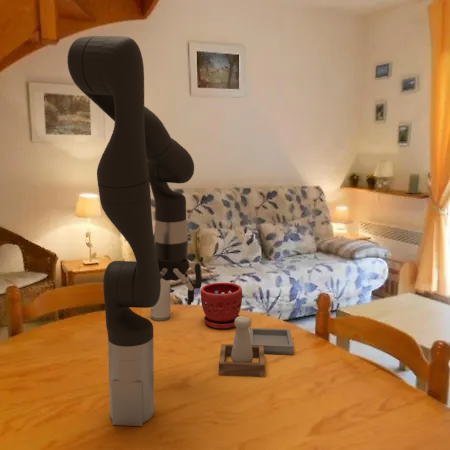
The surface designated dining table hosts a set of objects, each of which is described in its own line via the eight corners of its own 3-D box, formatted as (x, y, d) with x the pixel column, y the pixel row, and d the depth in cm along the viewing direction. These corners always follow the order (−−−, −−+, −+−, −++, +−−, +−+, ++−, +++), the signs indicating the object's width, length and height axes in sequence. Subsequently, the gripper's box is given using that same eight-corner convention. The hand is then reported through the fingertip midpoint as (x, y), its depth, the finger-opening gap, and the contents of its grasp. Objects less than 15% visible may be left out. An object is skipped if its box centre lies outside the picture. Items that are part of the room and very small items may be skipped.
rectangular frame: (264, 376, 118) (264, 365, 117) (218, 374, 118) (218, 363, 118) (263, 355, 129) (263, 345, 128) (221, 354, 129) (221, 344, 129)
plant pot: (233, 314, 159) (234, 279, 157) (247, 329, 147) (248, 292, 145) (195, 318, 155) (196, 283, 153) (207, 333, 143) (207, 295, 141)
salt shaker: (251, 371, 120) (252, 322, 118) (228, 369, 121) (229, 320, 119) (254, 361, 126) (255, 314, 123) (233, 358, 127) (234, 312, 125)
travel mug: (148, 320, 152) (147, 260, 149) (154, 313, 159) (153, 255, 155) (166, 322, 151) (166, 261, 148) (172, 315, 158) (172, 256, 154)
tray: (293, 354, 130) (293, 346, 129) (249, 353, 130) (249, 344, 130) (289, 337, 141) (289, 329, 141) (249, 335, 142) (249, 327, 142)
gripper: (137, 241, 106) (139, 308, 110) (200, 243, 106) (200, 310, 110) (143, 233, 113) (145, 296, 117) (203, 234, 113) (202, 297, 117)
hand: (172, 303), depth 113 cm, fingers open, 8 cm apart
